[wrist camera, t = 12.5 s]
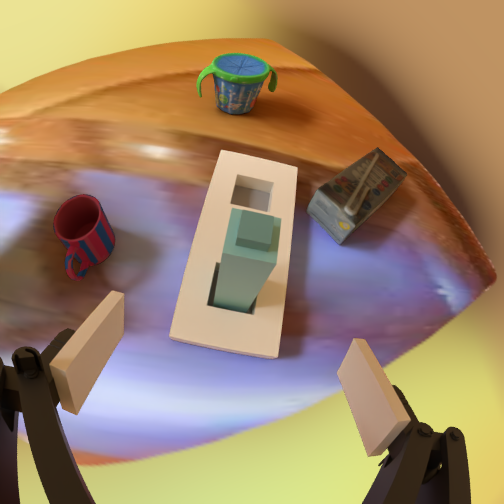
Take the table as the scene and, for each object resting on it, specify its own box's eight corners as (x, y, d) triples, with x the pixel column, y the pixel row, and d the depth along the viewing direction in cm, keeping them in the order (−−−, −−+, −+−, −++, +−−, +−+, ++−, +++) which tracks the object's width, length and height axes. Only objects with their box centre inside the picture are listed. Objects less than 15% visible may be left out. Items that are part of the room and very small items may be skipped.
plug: (212, 307, 34) (223, 245, 20) (218, 276, 36) (233, 198, 21) (245, 313, 34) (280, 256, 20) (250, 282, 36) (285, 210, 22)
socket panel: (171, 339, 32) (168, 335, 29) (219, 162, 45) (221, 149, 42) (271, 359, 33) (277, 357, 30) (292, 179, 46) (297, 167, 43)
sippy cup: (198, 123, 48) (201, 77, 39) (192, 93, 52) (195, 52, 43) (278, 120, 52) (291, 79, 43) (263, 92, 56) (273, 54, 47)
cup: (120, 225, 37) (109, 196, 31) (101, 293, 32) (83, 273, 26) (80, 220, 36) (65, 192, 30) (59, 284, 32) (36, 264, 26)
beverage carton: (301, 210, 43) (316, 183, 38) (363, 166, 51) (378, 143, 45) (338, 248, 42) (359, 225, 36) (392, 194, 49) (411, 173, 44)
